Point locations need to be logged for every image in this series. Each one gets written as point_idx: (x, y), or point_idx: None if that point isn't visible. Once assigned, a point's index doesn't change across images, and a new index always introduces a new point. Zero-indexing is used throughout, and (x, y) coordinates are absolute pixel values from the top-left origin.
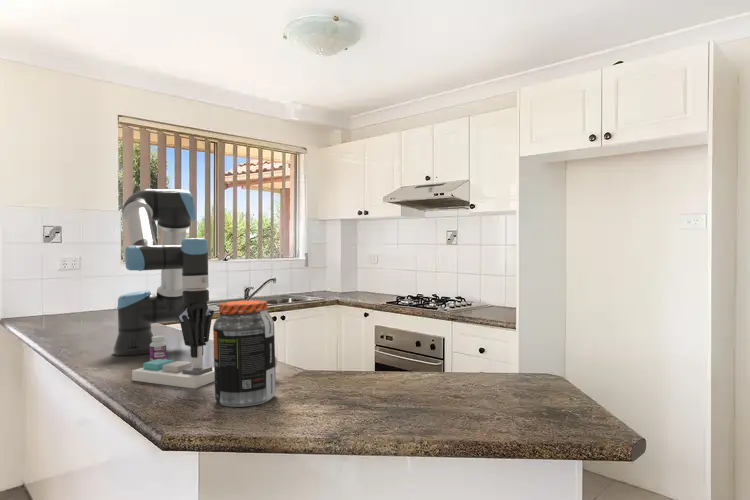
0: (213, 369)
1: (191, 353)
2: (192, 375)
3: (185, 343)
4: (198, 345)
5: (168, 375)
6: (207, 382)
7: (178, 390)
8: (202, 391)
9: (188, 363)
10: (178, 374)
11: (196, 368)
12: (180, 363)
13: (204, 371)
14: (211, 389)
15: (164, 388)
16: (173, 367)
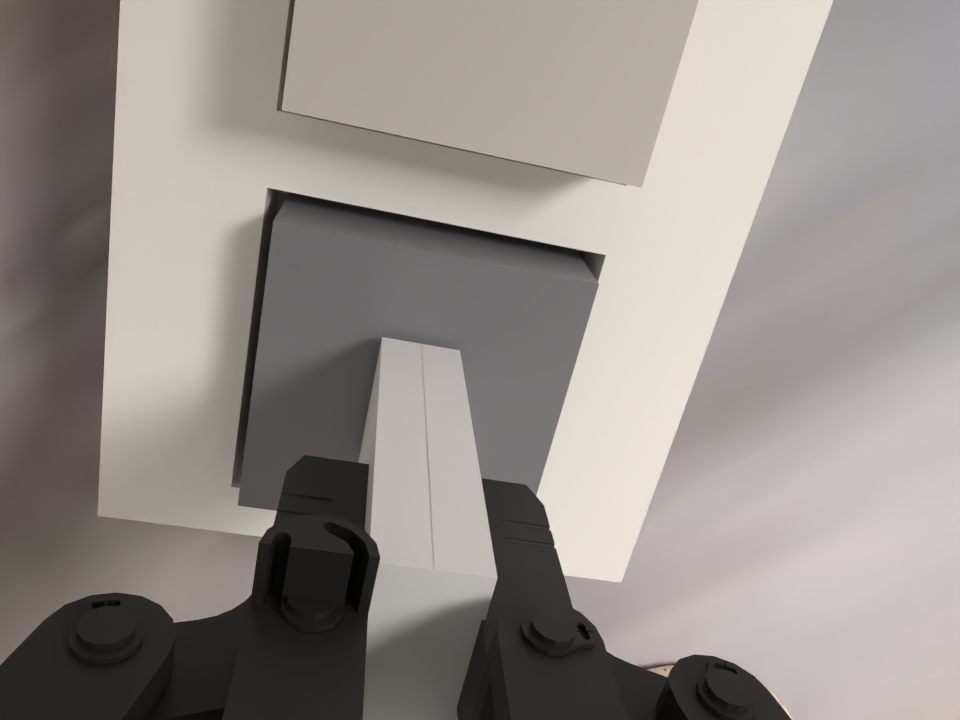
0: (558, 507)
1: (277, 517)
2: (207, 420)
3: (30, 662)
4: (470, 664)
5: (122, 25)
6: None
7: (9, 307)
8: (78, 568)
9: (557, 169)
10: (200, 184)
11: None
12: (538, 6)
13: None
14: (171, 608)
15: (11, 61)
16: (296, 4)
